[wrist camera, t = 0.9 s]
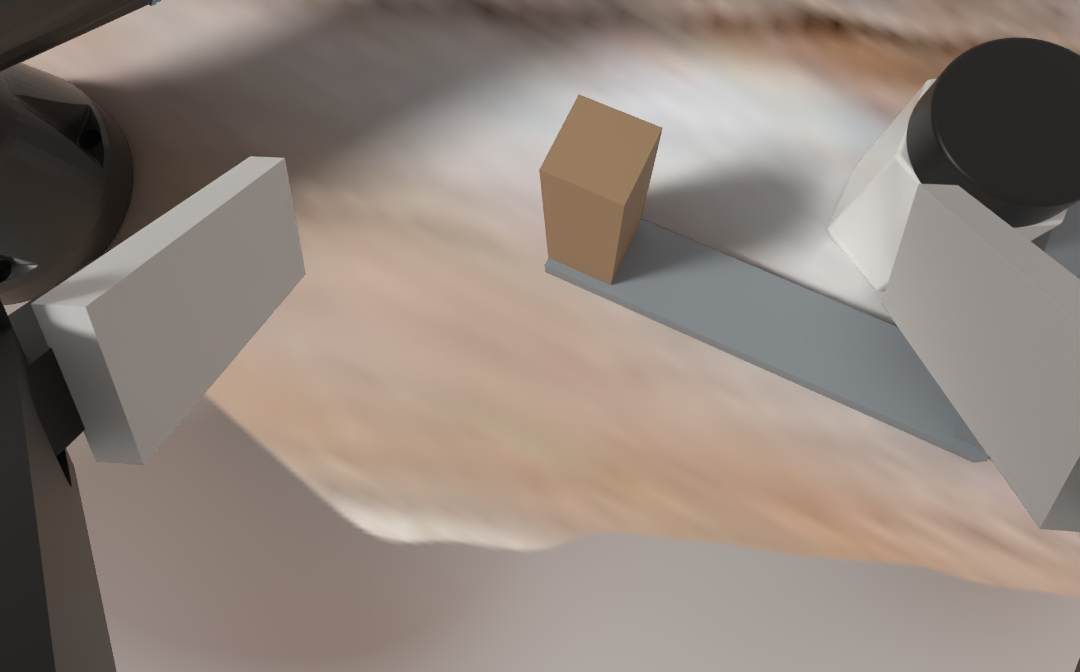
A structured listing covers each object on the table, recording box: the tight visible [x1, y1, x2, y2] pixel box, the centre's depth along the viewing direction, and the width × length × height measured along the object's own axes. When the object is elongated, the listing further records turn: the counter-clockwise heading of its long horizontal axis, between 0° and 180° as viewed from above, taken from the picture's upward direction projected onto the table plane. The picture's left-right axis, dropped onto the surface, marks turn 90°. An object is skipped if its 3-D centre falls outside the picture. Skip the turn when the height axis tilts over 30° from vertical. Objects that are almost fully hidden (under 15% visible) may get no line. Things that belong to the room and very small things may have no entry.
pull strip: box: [540, 95, 1080, 462], centre depth 36 cm, size 26×18×12 cm
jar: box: [827, 38, 1080, 291], centre depth 36 cm, size 9×8×12 cm
